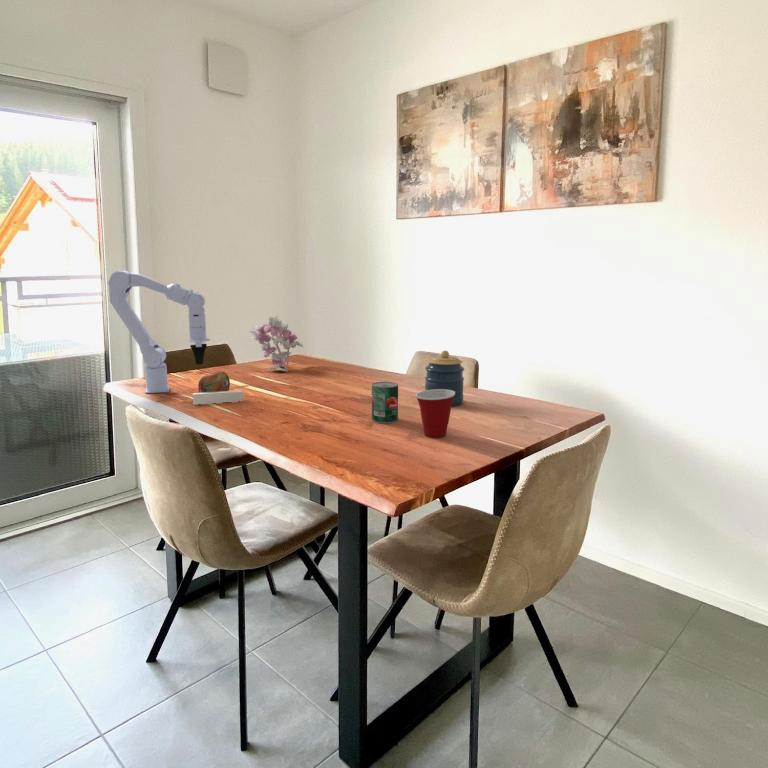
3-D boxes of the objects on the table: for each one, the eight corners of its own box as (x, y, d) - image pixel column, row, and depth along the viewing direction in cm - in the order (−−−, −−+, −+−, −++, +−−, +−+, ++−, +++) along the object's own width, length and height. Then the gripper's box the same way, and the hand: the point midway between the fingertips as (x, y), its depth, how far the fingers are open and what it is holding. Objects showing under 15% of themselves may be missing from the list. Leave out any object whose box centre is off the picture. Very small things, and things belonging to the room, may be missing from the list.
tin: (205, 402, 203) (203, 377, 201) (197, 401, 204) (195, 377, 202) (231, 393, 217) (230, 370, 215) (223, 392, 218) (222, 369, 216)
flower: (321, 364, 268) (301, 312, 270) (293, 367, 247) (272, 311, 249) (285, 381, 276) (267, 330, 278) (256, 385, 255) (236, 330, 257)
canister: (419, 405, 200) (420, 352, 197) (430, 397, 212) (431, 347, 209) (458, 408, 196) (459, 354, 193) (467, 400, 208) (468, 349, 205)
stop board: (193, 403, 201) (192, 393, 200) (242, 400, 206) (242, 390, 205) (193, 404, 199) (192, 394, 198) (243, 401, 204) (242, 391, 203)
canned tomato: (372, 416, 185) (372, 381, 183) (398, 417, 185) (398, 381, 183) (370, 423, 178) (371, 386, 176) (397, 423, 177) (398, 386, 175)
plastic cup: (412, 430, 171) (412, 388, 169) (450, 429, 172) (451, 387, 170) (417, 441, 160) (418, 396, 158) (457, 440, 161) (459, 396, 159)
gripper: (209, 328, 213) (211, 366, 216) (208, 324, 226) (210, 360, 229) (188, 329, 211) (190, 367, 213) (188, 325, 224) (190, 361, 227)
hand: (199, 364), depth 221 cm, fingers closed
